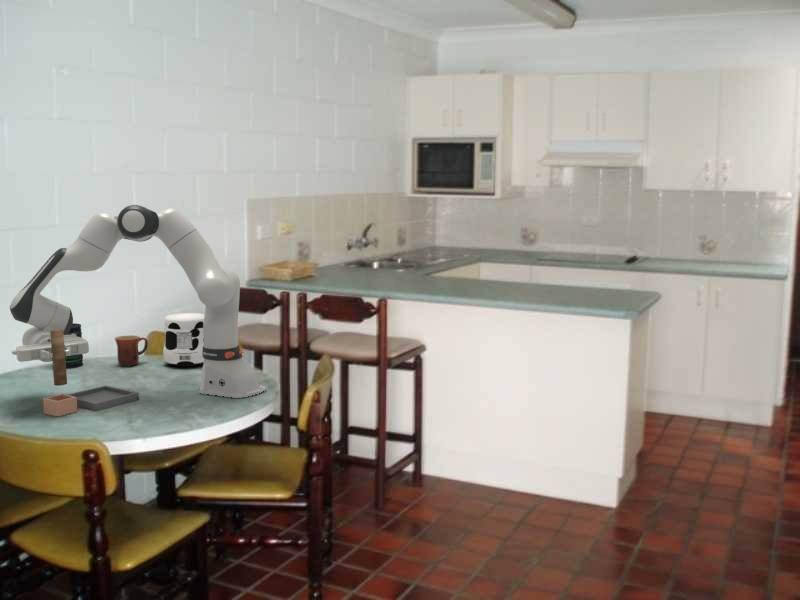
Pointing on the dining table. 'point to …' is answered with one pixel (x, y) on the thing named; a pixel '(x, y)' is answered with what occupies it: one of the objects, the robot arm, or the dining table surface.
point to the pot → (60, 405)
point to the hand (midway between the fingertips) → (59, 354)
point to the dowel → (58, 357)
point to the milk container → (184, 339)
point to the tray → (104, 397)
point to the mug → (129, 349)
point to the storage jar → (74, 360)
